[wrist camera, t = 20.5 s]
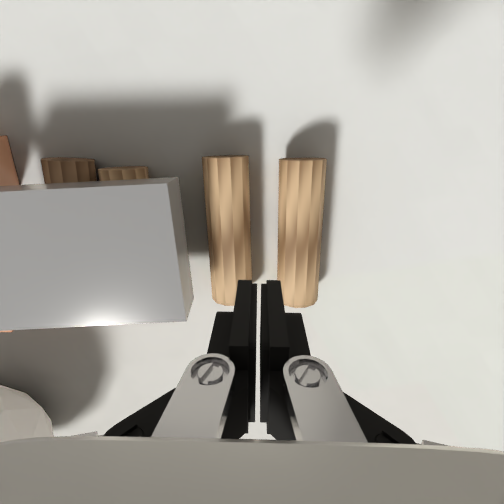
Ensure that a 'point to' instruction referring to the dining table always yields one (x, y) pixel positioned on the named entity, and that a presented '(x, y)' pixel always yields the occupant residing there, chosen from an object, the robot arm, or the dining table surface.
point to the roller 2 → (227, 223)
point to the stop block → (7, 169)
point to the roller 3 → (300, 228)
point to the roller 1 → (68, 170)
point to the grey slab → (93, 254)
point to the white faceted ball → (22, 416)
